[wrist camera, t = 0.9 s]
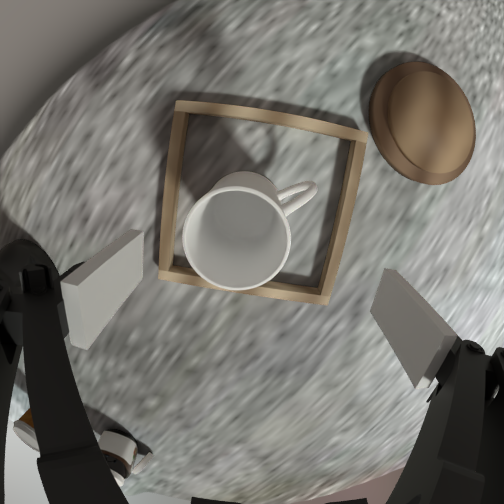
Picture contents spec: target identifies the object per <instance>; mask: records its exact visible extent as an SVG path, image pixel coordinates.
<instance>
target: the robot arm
mask: <svg viewBox="0 0 504 504" xmlns="http://www.w3.org/2000/svg"><path fill="white" fill-rule="evenodd" d="M143 241H144V231H140V230H133V229H130V230H129V231H128V232H126V233H125V234H123V235H122V236H120V237H119V238H118V239H116V240H115V241H113V242H112V243H111V244H109V245H108V246H106V247H105V248H104V249H102V250H101V251H100V252H98V253H97V254H96V255H94V256H93V257H92V258H90V259H89V260H88V261H86V262H81V263H79V264H76V265H74V266H72V267H71V268H70V269H68V271H66V272H64V273H63V275H61V276H59V274H58V272H57V270H56V268H55V266H54V265H53V263H52V262H51V260H50V259H49V257H48V256H47V255H46V254H45V253H44V252H43V250H41V249H40V248H39V247H38V246H37V245H35V244H34V243H32V242H30V241H27V240H22V239H20V240H15V241H13V242H11V243H9V244H7V245H6V246H4V247H3V248H2V249H1V250H0V504H4V495H5V494H4V461H5V444H6V433H7V424H8V416H9V409H10V403H11V397H12V391H13V386H14V381H15V376H16V371H17V367H18V363H19V358H20V354H21V350H22V347H23V351H24V364H25V374H26V383H27V390H28V397H29V404H30V409H31V415H32V420H33V425H34V430H35V434H36V438H37V443H38V447H39V451H40V458H37V466H38V471H39V474H40V477H41V480H42V484H43V487H44V490H45V493H46V495H47V498H48V501H49V504H129V503H128V501H127V500H126V498H125V496H124V494H123V493H122V491H121V489H120V487H119V485H118V483H117V482H116V480H115V478H114V476H113V474H112V472H111V470H110V468H109V466H108V464H107V462H106V460H105V457H104V455H103V453H102V451H101V449H100V446H99V444H98V442H97V440H96V437H95V435H94V432H93V430H92V427H91V425H90V422H89V420H88V417H87V415H86V412H85V409H84V406H83V403H82V401H81V398H80V395H79V392H78V389H77V385H76V382H75V379H74V376H73V372H72V369H71V365H70V361H69V358H68V354H67V350H66V346H65V342H64V338H65V337H66V336H67V334H68V333H69V336H70V340H71V345H74V346H77V347H80V348H83V349H86V350H88V349H89V347H90V346H91V345H92V343H93V342H94V341H95V339H96V338H97V336H98V335H99V334H100V332H101V331H102V330H103V328H104V327H105V326H106V325H107V323H108V322H109V321H110V319H111V318H112V317H113V315H114V314H115V313H116V312H117V310H118V309H119V308H120V306H121V305H122V304H123V303H124V301H125V300H126V299H127V298H128V296H129V295H130V294H131V293H132V291H133V290H134V289H135V288H136V286H137V285H138V284H139V283H140V281H141V280H142V279H143ZM370 312H371V314H372V315H373V317H374V319H375V320H376V322H377V324H378V325H379V327H380V328H381V330H382V332H383V333H384V335H385V337H386V338H387V340H388V342H389V344H390V345H391V347H392V349H393V350H394V352H395V354H396V356H397V357H398V359H399V361H400V362H401V364H402V366H403V368H404V370H405V371H406V373H407V375H408V377H409V378H410V380H411V382H412V384H413V386H414V388H415V389H421V388H429V386H430V385H431V383H432V381H433V380H434V378H435V377H436V379H437V380H438V382H439V383H438V384H437V386H436V388H435V389H434V391H433V392H432V394H431V395H430V397H429V398H428V400H427V401H426V402H429V401H430V400H431V402H430V405H429V408H428V411H427V414H426V417H425V419H424V422H423V425H422V427H421V430H420V433H419V435H418V438H417V440H416V443H415V445H414V448H413V450H412V452H411V454H410V457H409V459H408V461H407V463H406V466H405V468H404V470H403V472H402V474H401V476H400V478H399V480H398V482H397V484H396V486H395V488H394V490H393V492H392V494H391V495H390V497H389V499H388V501H387V502H386V504H504V348H502V347H498V348H496V350H495V352H494V354H493V355H492V356H488V355H485V351H484V349H483V348H482V347H481V346H480V345H479V344H477V343H476V342H473V341H470V340H463V341H462V340H461V339H460V337H459V336H458V335H457V334H456V333H455V332H454V331H453V329H452V328H451V327H450V326H449V325H448V324H447V323H446V322H445V321H444V319H443V318H442V317H441V316H440V315H439V314H438V313H437V312H436V311H435V310H434V309H433V308H432V307H431V306H430V304H429V303H428V302H427V301H426V300H425V299H424V298H423V297H422V296H421V295H420V294H419V293H418V292H417V291H416V290H415V289H414V288H413V287H412V286H411V285H410V284H409V283H408V282H407V281H406V280H405V279H404V278H403V277H402V276H401V275H400V274H399V273H398V272H397V271H396V270H392V269H386V268H384V271H383V275H382V278H381V281H380V284H379V287H378V290H377V293H376V296H375V298H374V301H373V304H372V307H371V310H370ZM497 391H498V393H497V395H496V397H495V398H494V395H495V394H496V392H497ZM475 471H476V472H475ZM191 504H241V503H236V502H226V501H217V500H210V499H203V498H197V497H192V499H191ZM326 504H368V503H367V498H363V499H357V500H349V501H341V502H330V503H326Z"/></svg>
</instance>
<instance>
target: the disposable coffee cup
mask: <svg viewBox="0 0 504 504" xmlns="http://www.w3.org/2000/svg"><path fill="white" fill-rule="evenodd" d="M13 429H14V432H15V433H16V435H17V436H18V437H19V438H20V439H21V440H22V441H23V442H24V443H25V444H27V445H28V446H29V447H31V448H32V449H34V450H36V451H38V452H40V451H39V447H38V443H37V438H36V434H35V430H34V425H33V420H32V415H31V409H30V408H29V409H28V410H27V411H26V412H25V414H24V415H23V416H22V417H21V418H20V419H19V420H17V421H15V422H14V427H13Z"/></svg>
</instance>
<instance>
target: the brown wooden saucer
mask: <svg viewBox="0 0 504 504" xmlns="http://www.w3.org/2000/svg"><path fill="white" fill-rule="evenodd" d="M369 122H370V128H371V132H372V136H373V138H374V141H375V144H376V146H377V148H378V150H379V151H380V153H381V155H382V156H383V158H384V159H385V160H386V161H387V163H388V164H389V165H390V166H391V167H392V168H393V169H394V170H395V171H397V172H398V173H399V174H401V175H402V176H404V177H406V178H408V179H410V180H413V181H416V182H420V183H424V184H429V185H440V184H444V183H447V182H450V181H452V180H454V179H455V178H457V177H458V176H459V175H460V174H461V173H462V172H463V171H464V170H465V168H466V167H467V165H468V164H469V162H470V159H471V157H472V154H473V151H474V147H475V139H476V128H475V120H474V116H473V112H472V109H471V106H470V104H469V102H468V99H467V97H466V96H465V94H464V92H463V91H462V89H461V88H460V86H459V85H458V84H457V83H456V82H455V80H454V79H452V78H451V77H450V76H449V75H448V74H447V73H445V72H444V71H443V70H441V69H439V68H438V67H436V66H433V65H431V64H428V63H424V62H407V63H403V64H401V65H398V66H396V67H394V68H393V69H391V70H389V71H388V72H386V73H385V74H384V75H383V76H382V77H381V78H380V79H379V80H378V82H377V83H376V85H375V87H374V89H373V91H372V94H371V98H370V102H369Z"/></svg>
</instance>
